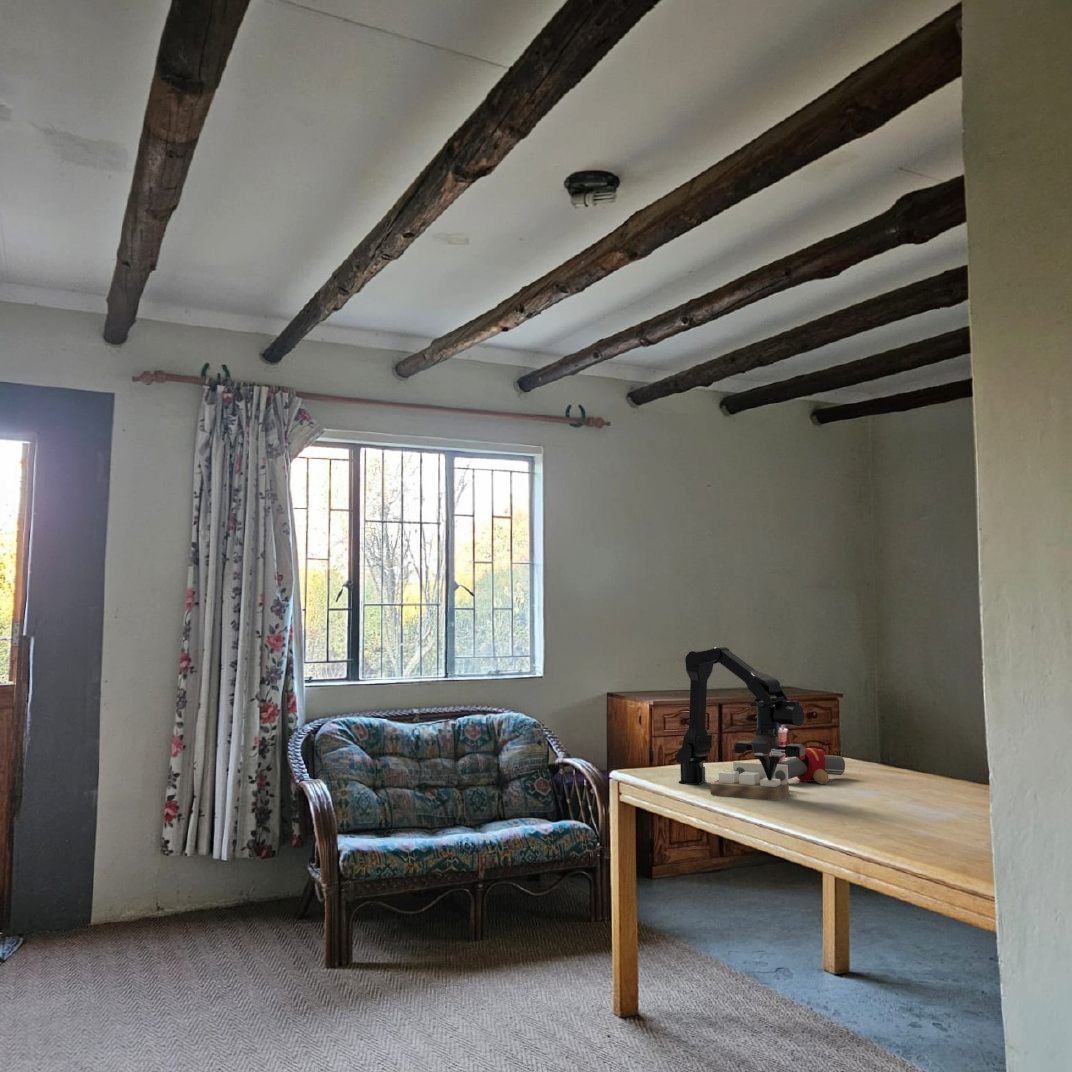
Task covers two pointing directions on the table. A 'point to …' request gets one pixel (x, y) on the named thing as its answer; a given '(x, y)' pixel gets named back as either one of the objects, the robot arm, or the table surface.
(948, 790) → the table surface
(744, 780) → the button mid
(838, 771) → the toy
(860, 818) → the table surface
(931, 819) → the table surface
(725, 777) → the button left
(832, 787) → the table surface
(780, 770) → the card
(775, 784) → the button right
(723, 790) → the board
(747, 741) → the robot arm
